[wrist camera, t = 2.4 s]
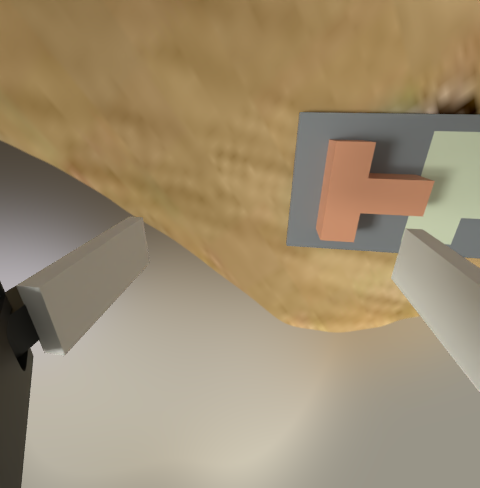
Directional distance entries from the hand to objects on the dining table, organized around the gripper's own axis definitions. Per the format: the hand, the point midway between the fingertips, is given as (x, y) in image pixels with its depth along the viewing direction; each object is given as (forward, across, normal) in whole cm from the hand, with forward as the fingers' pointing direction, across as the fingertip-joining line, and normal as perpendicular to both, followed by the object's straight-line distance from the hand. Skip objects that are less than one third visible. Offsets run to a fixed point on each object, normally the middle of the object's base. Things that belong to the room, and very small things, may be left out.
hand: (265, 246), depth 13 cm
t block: (+18, +11, -1) cm, 21 cm away
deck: (+19, +16, -1) cm, 24 cm away
